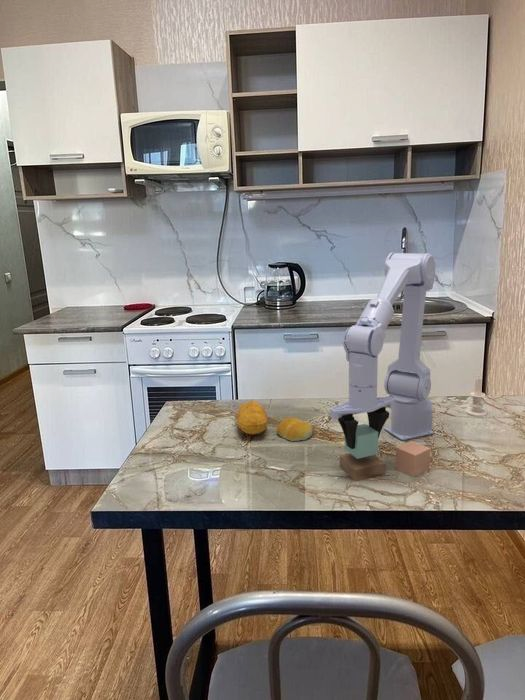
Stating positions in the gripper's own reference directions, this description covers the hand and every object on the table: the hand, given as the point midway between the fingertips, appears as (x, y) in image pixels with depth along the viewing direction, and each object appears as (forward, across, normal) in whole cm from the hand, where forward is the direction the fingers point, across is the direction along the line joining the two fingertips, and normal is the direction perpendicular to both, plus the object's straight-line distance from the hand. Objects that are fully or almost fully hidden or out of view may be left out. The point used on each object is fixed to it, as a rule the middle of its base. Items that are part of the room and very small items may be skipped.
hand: (362, 444), depth 110 cm
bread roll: (+6, +5, -23) cm, 25 cm away
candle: (+6, -44, -13) cm, 47 cm away
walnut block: (+6, 0, 0) cm, 6 cm away
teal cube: (+2, 0, 0) cm, 2 cm away
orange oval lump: (+6, +14, -30) cm, 34 cm away
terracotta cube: (+6, -10, +4) cm, 12 cm away
